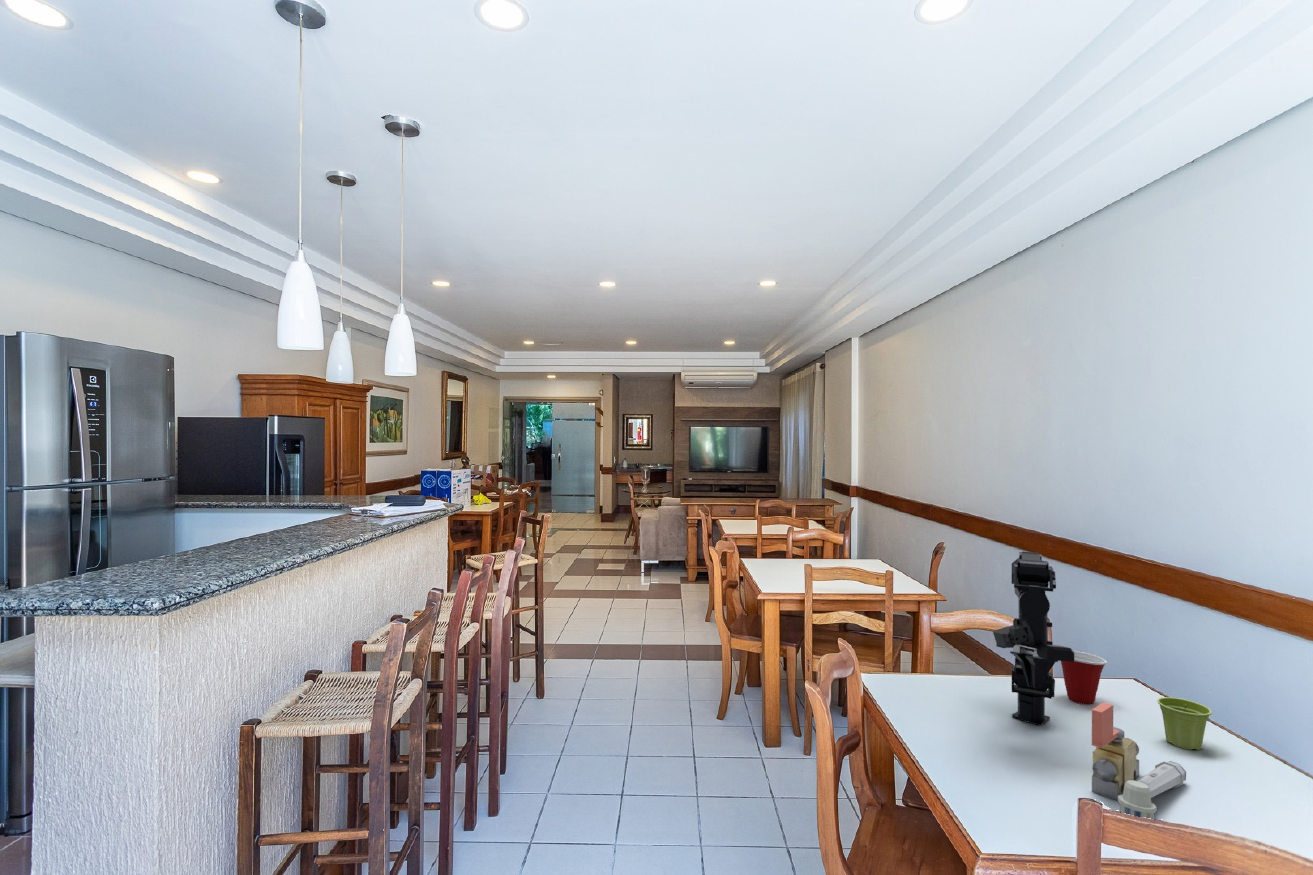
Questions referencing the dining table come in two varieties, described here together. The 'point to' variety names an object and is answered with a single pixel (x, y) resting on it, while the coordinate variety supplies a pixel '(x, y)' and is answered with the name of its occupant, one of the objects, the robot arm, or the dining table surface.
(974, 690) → the dining table surface
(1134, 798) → the white flashlight
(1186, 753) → the dining table surface
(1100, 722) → the lever
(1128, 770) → the valve
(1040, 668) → the robot arm
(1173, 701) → the plant pot
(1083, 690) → the plastic cup
